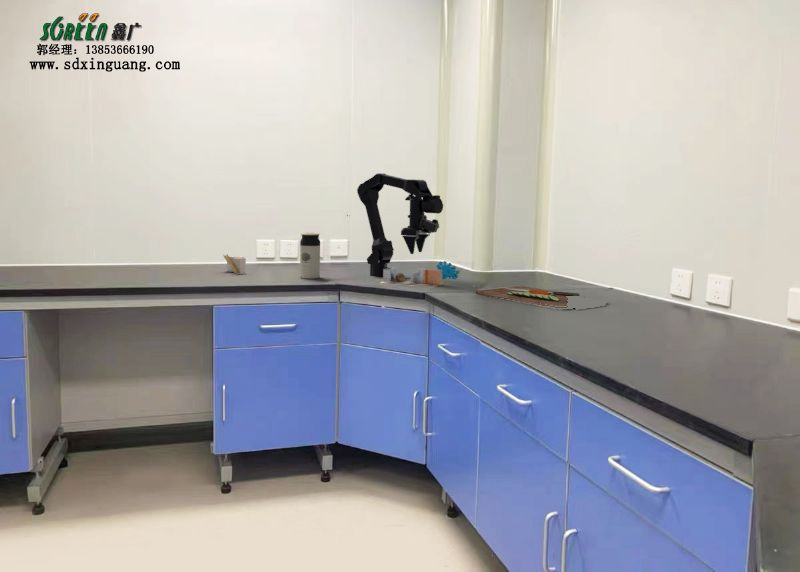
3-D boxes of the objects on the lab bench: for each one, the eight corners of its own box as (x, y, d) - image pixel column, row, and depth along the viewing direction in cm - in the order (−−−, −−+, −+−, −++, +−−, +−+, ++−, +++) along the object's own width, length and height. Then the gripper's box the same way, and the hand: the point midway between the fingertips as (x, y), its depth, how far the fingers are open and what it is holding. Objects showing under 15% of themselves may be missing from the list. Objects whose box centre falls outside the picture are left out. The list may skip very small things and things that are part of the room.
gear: (440, 278, 270) (435, 258, 276) (434, 286, 274) (428, 267, 280) (464, 280, 275) (458, 261, 281) (457, 289, 279) (451, 270, 285)
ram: (410, 283, 254) (410, 269, 253) (416, 281, 260) (417, 267, 259) (436, 285, 250) (437, 271, 249) (442, 283, 256) (443, 269, 256)
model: (240, 275, 278) (239, 256, 277) (221, 272, 284) (221, 254, 283) (245, 274, 281) (245, 256, 280) (227, 272, 287) (227, 254, 286)
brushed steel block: (383, 282, 257) (383, 269, 257) (391, 279, 265) (391, 267, 264) (390, 282, 256) (390, 269, 255) (398, 280, 264) (398, 267, 263)
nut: (393, 282, 258) (394, 273, 257) (397, 281, 261) (397, 272, 261) (402, 283, 257) (402, 273, 256) (406, 281, 260) (406, 272, 259)
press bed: (378, 285, 256) (378, 281, 256) (390, 282, 267) (390, 277, 267) (433, 290, 248) (433, 285, 248) (443, 286, 259) (443, 281, 259)
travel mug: (309, 275, 279) (309, 232, 276) (323, 277, 274) (324, 233, 272) (295, 277, 273) (296, 232, 270) (310, 279, 268) (310, 234, 265)
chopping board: (467, 293, 247) (467, 285, 247) (517, 288, 263) (517, 280, 263) (566, 313, 212) (566, 304, 212) (616, 306, 228) (617, 297, 228)
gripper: (428, 213, 249) (427, 256, 251) (444, 212, 266) (443, 252, 268) (400, 213, 253) (400, 254, 255) (417, 211, 270) (416, 250, 272)
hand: (416, 253), depth 262 cm, fingers open, 9 cm apart
